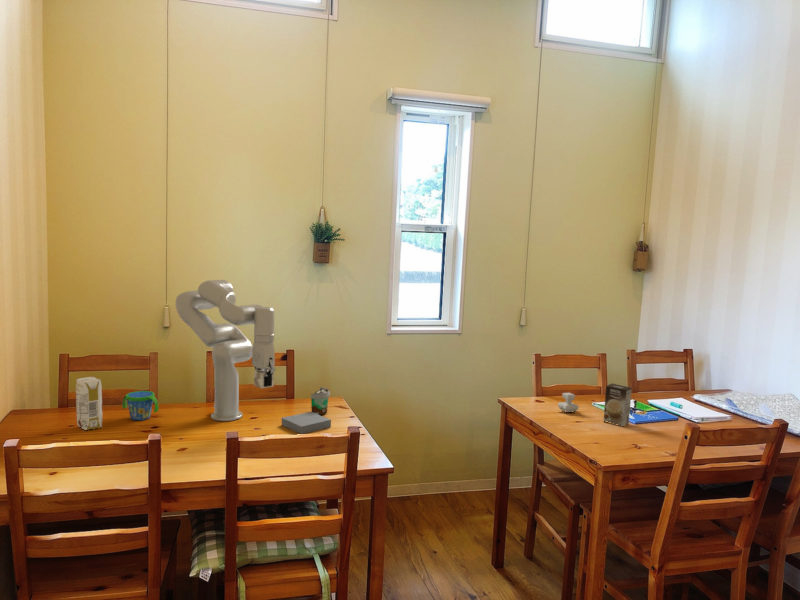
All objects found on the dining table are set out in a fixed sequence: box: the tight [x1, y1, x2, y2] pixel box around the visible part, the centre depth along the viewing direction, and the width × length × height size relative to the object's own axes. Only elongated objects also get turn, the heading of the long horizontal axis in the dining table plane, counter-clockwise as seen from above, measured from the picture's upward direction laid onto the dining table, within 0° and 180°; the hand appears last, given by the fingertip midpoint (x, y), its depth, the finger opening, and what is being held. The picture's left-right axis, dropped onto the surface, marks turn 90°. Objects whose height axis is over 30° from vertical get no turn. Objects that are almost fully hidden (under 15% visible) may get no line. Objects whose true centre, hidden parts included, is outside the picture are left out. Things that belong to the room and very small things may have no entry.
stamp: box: [557, 392, 580, 413], centre depth 269 cm, size 9×7×8 cm
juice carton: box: [75, 376, 103, 431], centre depth 228 cm, size 8×9×19 cm
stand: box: [281, 411, 332, 435], centre depth 238 cm, size 14×14×3 cm
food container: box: [310, 386, 331, 416], centre depth 255 cm, size 12×6×10 cm, turn 168°
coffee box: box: [603, 383, 632, 427], centre depth 254 cm, size 9×6×16 cm
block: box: [253, 369, 275, 389], centre depth 233 cm, size 6×6×6 cm
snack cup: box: [121, 390, 160, 421], centre depth 241 cm, size 16×10×10 cm
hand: (263, 384), depth 233 cm, fingers closed on block, 5 cm apart
